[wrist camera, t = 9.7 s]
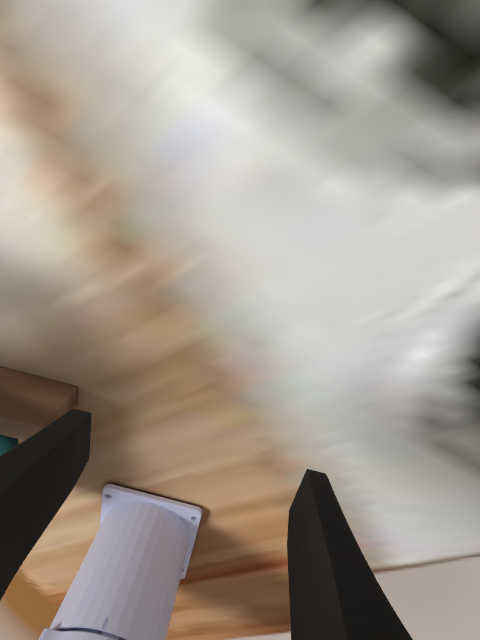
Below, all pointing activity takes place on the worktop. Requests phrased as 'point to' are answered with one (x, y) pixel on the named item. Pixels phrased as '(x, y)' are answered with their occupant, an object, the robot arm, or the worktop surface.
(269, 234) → the worktop surface
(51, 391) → the socket block
